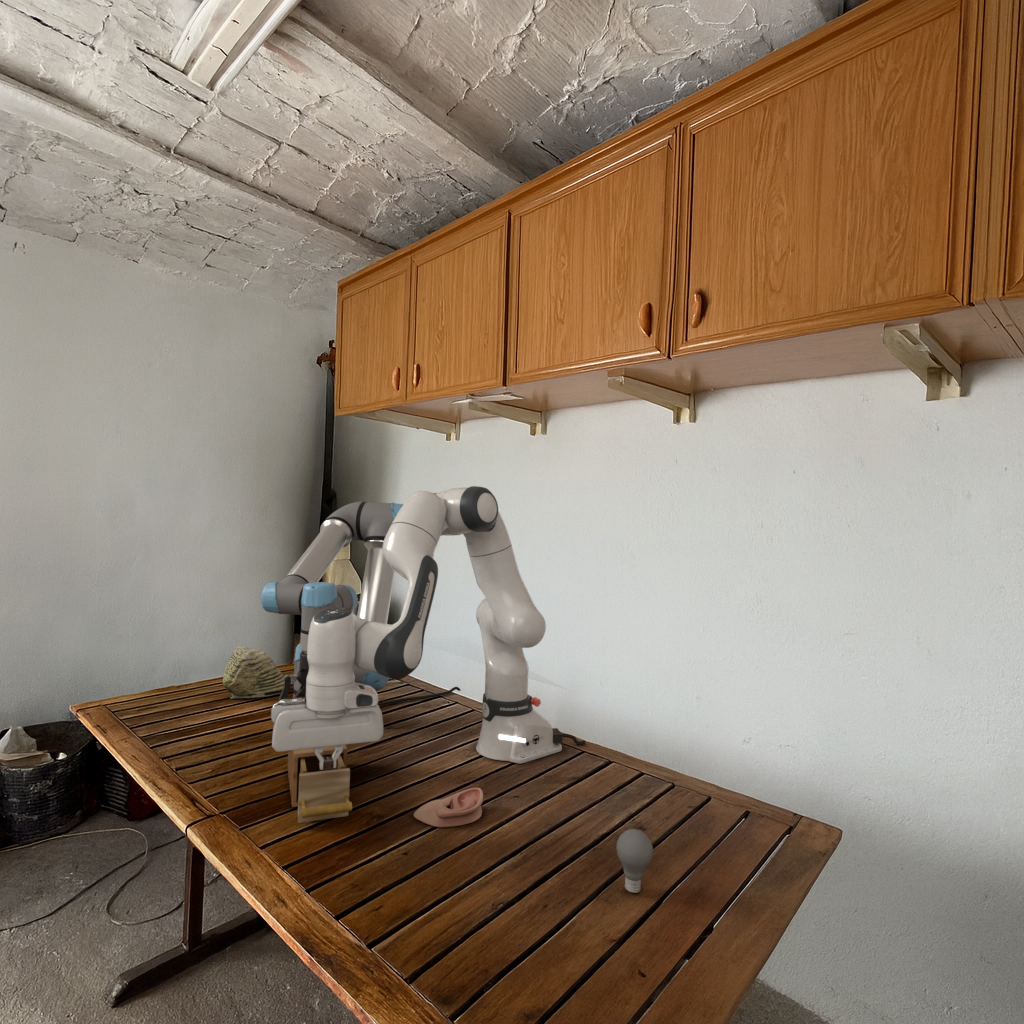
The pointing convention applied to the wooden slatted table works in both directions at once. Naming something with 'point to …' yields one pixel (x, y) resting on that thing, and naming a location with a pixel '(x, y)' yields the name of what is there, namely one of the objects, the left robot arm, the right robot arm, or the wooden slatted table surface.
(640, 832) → the light bulb
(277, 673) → the fossil
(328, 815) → the drawer
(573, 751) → the wooden slatted table surface
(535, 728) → the right robot arm
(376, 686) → the left robot arm
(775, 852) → the wooden slatted table surface
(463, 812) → the anatomical model
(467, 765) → the wooden slatted table surface
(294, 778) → the cabinet
